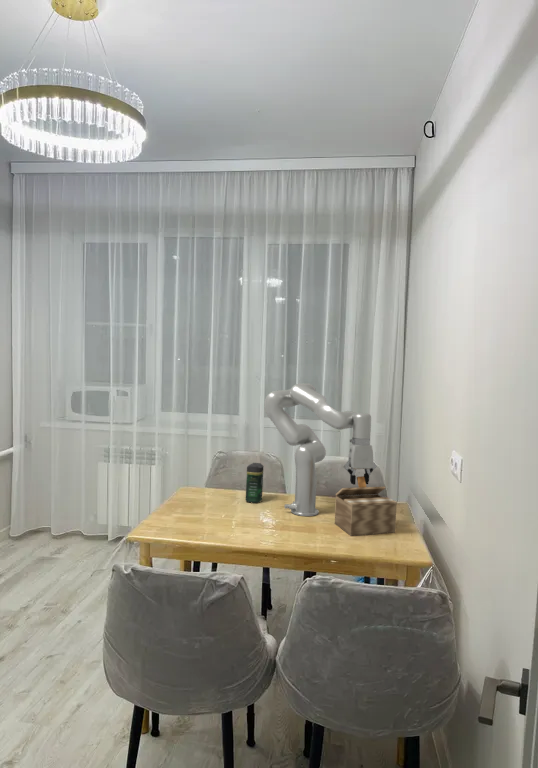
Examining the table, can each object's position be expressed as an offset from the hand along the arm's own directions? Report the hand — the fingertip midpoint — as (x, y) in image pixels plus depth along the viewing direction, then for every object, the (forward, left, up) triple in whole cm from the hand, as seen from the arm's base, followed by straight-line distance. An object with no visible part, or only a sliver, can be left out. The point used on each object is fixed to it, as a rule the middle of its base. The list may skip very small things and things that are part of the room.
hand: (359, 483), depth 225 cm
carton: (0, -6, -18) cm, 19 cm away
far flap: (0, -1, -3) cm, 4 cm away
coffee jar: (-35, +43, -18) cm, 58 cm away
